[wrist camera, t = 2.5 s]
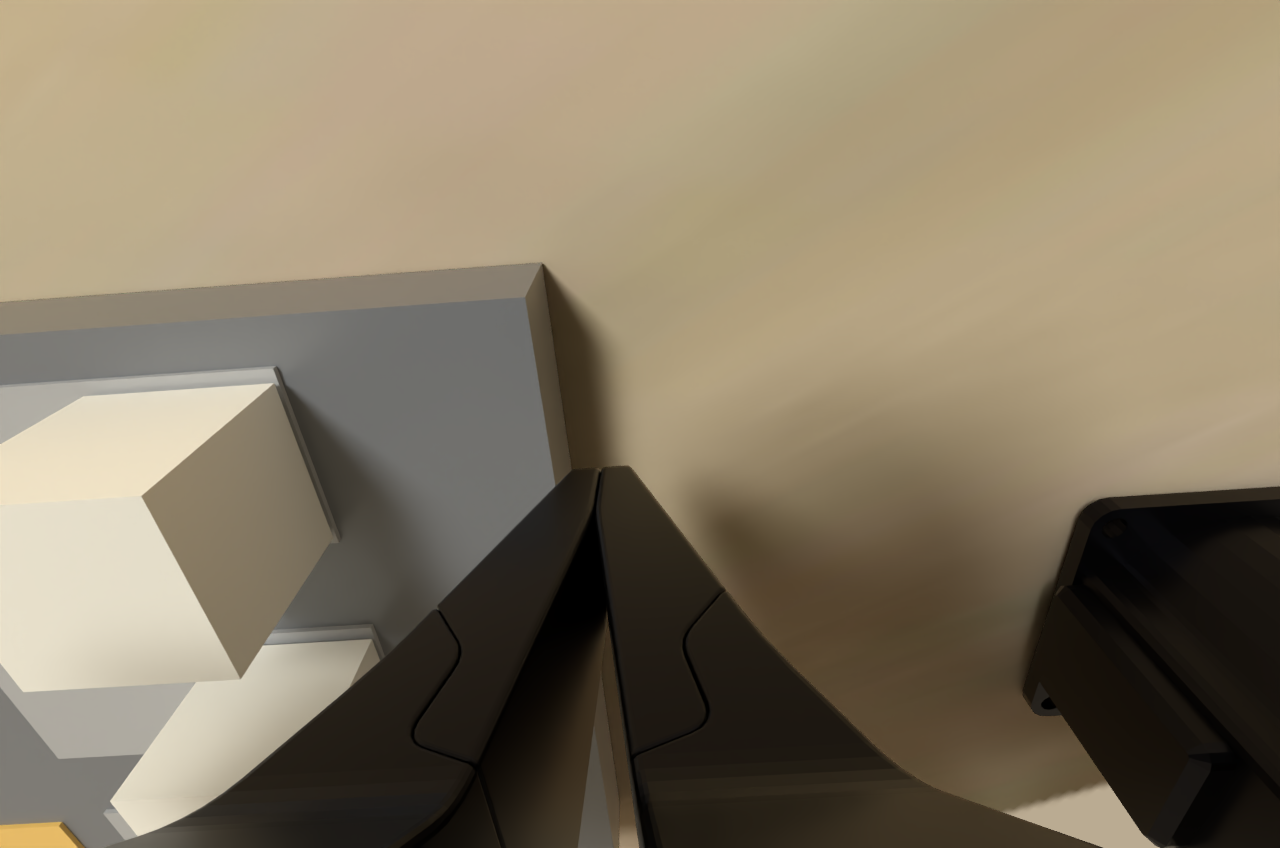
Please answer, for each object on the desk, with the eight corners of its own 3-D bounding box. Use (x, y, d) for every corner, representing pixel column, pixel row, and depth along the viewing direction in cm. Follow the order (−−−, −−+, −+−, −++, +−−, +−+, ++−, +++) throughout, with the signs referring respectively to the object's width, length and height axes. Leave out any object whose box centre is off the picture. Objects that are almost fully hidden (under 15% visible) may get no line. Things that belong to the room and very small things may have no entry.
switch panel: (541, 262, 11) (524, 299, 9) (619, 802, 19) (618, 881, 17) (-337, 326, 11) (-524, 374, 10) (90, 830, 19) (33, 910, 17)
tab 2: (372, 638, 12) (301, 790, 10) (409, 737, 14) (356, 893, 11) (220, 647, 12) (110, 801, 10) (273, 745, 14) (188, 902, 11)
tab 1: (274, 382, 10) (140, 495, 7) (333, 537, 11) (241, 679, 9) (82, 396, 10) (-119, 513, 7) (166, 548, 11) (23, 692, 9)
